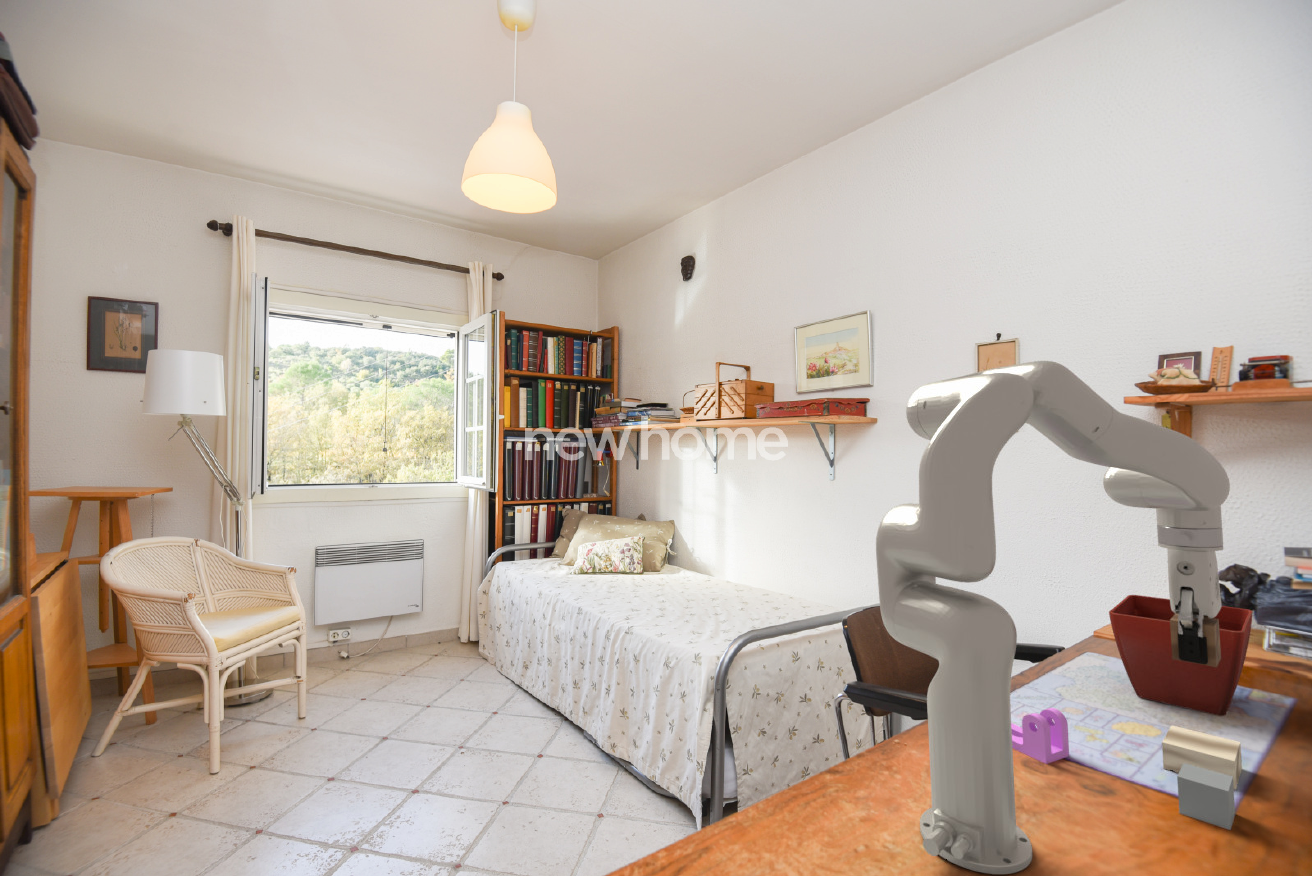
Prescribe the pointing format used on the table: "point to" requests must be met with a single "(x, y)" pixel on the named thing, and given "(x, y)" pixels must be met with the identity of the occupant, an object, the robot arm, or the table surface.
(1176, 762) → the birch block
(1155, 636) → the plant pot
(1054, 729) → the bracket
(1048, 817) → the table surface
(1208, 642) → the walnut block
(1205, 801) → the grey block
